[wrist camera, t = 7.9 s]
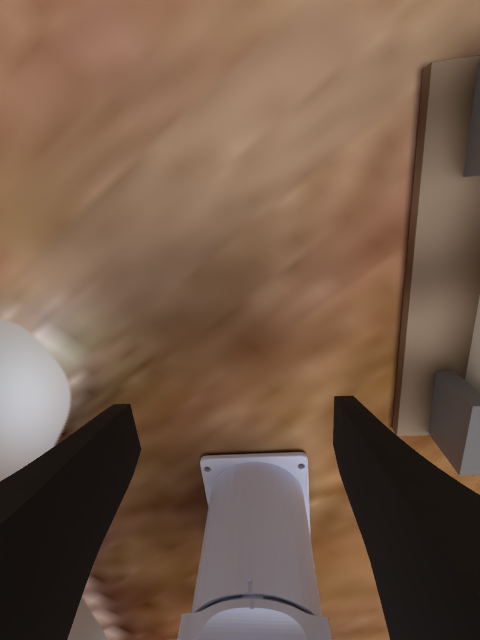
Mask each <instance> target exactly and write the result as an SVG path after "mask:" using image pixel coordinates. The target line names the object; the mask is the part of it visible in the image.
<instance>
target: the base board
mask: <svg viewBox="0 0 480 640" xmlns="http://www.w3.org/2000/svg"><path fill="white" fill-rule="evenodd" d="M479 61H480V55H478V56H471V57H464V58H457V59H450V60H443V61H436V62H432V63H430V64H429V65H428V66H427V67H425V68H424V69H423V76H422V88H421V99H420V111H419V123H418V134H417V146H416V158H415V169H414V181H413V192H412V204H411V216H410V227H409V239H408V251H407V262H406V274H405V286H404V297H403V309H402V320H401V332H400V344H399V355H398V367H397V379H396V390H395V402H394V414H393V425H392V429H393V430H394V432H395V434H396V435H397V436H414V435H430V434H429V433H428V430H429V422H430V415H431V408H432V400H433V393H434V386H435V378H436V371H455V372H456V373H457V374H458V375H459V376H460V377H462V378H463V379H464V380H465V377H466V371H467V365H468V360H469V354H470V348H471V343H472V337H473V331H474V326H475V320H476V314H477V309H478V303H479V297H480V175H479V176H470V177H463V174H464V167H465V159H466V152H467V145H468V138H469V130H470V123H471V116H472V108H473V101H474V94H475V86H476V79H477V72H478V65H479Z"/></svg>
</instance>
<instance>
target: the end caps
mask: <svg viewBox="0 0 480 640" xmlns="http://www.w3.org/2000/svg"><path fill="white" fill-rule="evenodd" d="M479 175H480V61H479V65H478V72H477V79H476V86H475V94H474V101H473V108H472V116H471V123H470V130H469V138H468V145H467V152H466V159H465V167H464V174H463V177H470V176H479ZM428 433H429V434H430V436H431V437H432V439H433V440H434V441H435V443H436V444H437V445H438V447H439V448H440V450H441V451H442V452H443V454H444V455H445V456H446V458H447V459H448V460H449V462H450V463H451V465H452V466H453V467H454V469H455V470H456V471H457V473H458V474H459V475H480V393H479V392H478V391H476V390H475V389H474V388H473V387H472V386H471V385H470V384H468V383H467V382H466V381H465V380H464V379H463V378H462V377H460V376H459V375H458V374H457V373H456V372H455V371H436V378H435V386H434V393H433V400H432V408H431V415H430V422H429V430H428Z"/></svg>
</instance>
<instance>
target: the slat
mask: <svg viewBox="0 0 480 640" xmlns="http://www.w3.org/2000/svg"><path fill="white" fill-rule="evenodd" d="M465 381H466V382H467V383H468V384H470V385H471V386H472V387H473V388H474V389H475V390H476V391H478V392H479V393H480V297H479V303H478V309H477V314H476V320H475V326H474V331H473V337H472V343H471V348H470V354H469V360H468V365H467V371H466V377H465Z"/></svg>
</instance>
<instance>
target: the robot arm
mask: <svg viewBox="0 0 480 640" xmlns="http://www.w3.org/2000/svg"><path fill="white" fill-rule="evenodd" d="M333 446H334V451H335V455H336V460H337V464H338V468H339V472H340V475H341V478H342V481H343V484H344V487H345V490H346V493H347V496H348V498H349V501H350V504H351V507H352V510H353V512H354V515H355V518H356V521H357V524H358V526H359V529H360V532H361V535H362V538H363V540H364V543H365V546H366V549H367V553H368V556H369V559H370V562H371V566H372V570H373V574H374V578H375V581H376V585H377V589H378V593H379V597H380V600H381V604H382V608H383V612H384V616H385V620H386V624H387V628H388V632H389V636H390V640H480V495H479V494H477V493H475V492H474V491H472V490H471V489H469V488H468V487H466V486H464V485H463V484H461V483H460V482H458V481H457V480H455V479H454V478H452V477H451V476H449V475H448V474H446V473H445V472H444V471H442V470H441V469H439V468H438V467H436V466H435V465H433V464H432V463H431V462H429V461H428V460H427V459H425V458H424V457H423V456H421V455H420V454H419V453H418V452H416V451H415V450H414V449H412V448H411V447H410V446H409V445H407V444H406V443H405V442H404V441H402V440H401V439H400V438H399V437H398V436H396V435H395V434H394V433H393V432H392V431H391V430H390V429H388V428H387V427H386V426H385V425H384V424H383V423H382V422H381V421H379V420H378V419H377V418H376V417H375V416H374V415H373V414H372V413H371V412H370V411H369V410H368V409H367V408H366V407H364V406H363V405H362V404H361V403H360V402H359V401H358V400H357V399H356V398H355V397H354V396H334V429H333ZM140 451H141V446H140V442H139V438H138V434H137V430H136V426H135V422H134V418H133V414H132V410H131V406H130V404H114V405H112V406H111V407H109V408H107V409H106V410H105V411H103V412H102V413H100V414H99V415H97V416H96V417H95V418H93V419H92V420H91V421H89V422H88V423H87V424H85V425H84V426H82V427H81V428H80V429H78V430H77V431H76V432H74V433H73V434H71V435H70V436H69V437H67V438H66V439H65V440H63V441H62V442H60V443H59V444H58V445H56V446H55V447H53V448H52V449H50V450H49V451H47V452H46V453H44V454H43V455H42V456H40V457H39V458H37V459H36V460H34V461H33V462H31V463H30V464H28V465H27V466H25V467H23V468H22V469H20V470H19V471H17V472H15V473H14V474H12V475H11V476H9V477H7V478H5V479H4V480H2V481H1V482H0V640H67V639H68V635H69V632H70V630H71V627H72V624H73V620H74V618H75V615H76V611H77V608H78V606H79V603H80V600H81V597H82V594H83V591H84V588H85V586H86V583H87V580H88V577H89V575H90V572H91V569H92V566H93V564H94V561H95V558H96V556H97V554H98V551H99V549H100V546H101V544H102V542H103V540H104V538H105V535H106V533H107V531H108V529H109V527H110V525H111V523H112V520H113V518H114V516H115V514H116V512H117V510H118V507H119V505H120V503H121V501H122V499H123V497H124V494H125V492H126V490H127V488H128V486H129V483H130V481H131V479H132V477H133V474H134V471H135V468H136V465H137V461H138V458H139V455H140ZM299 464H302V465H299ZM200 466H201V472H202V477H203V482H204V487H205V492H206V498H207V503H208V514H207V520H206V526H205V532H204V538H203V544H202V550H201V557H200V563H199V569H198V575H197V581H196V587H195V593H194V599H193V605H192V611H191V613H184V614H182V617H181V623H180V628H179V633H178V639H169V640H332V637H331V631H330V625H329V619H328V618H327V617H322V611H321V605H320V598H319V591H318V585H317V578H316V572H315V565H314V559H313V552H312V546H311V539H310V509H309V479H308V458H307V455H306V454H305V453H303V452H289V453H263V454H236V455H210V456H203V457H202V458H201V461H200ZM207 467H209V468H207Z"/></svg>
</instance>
